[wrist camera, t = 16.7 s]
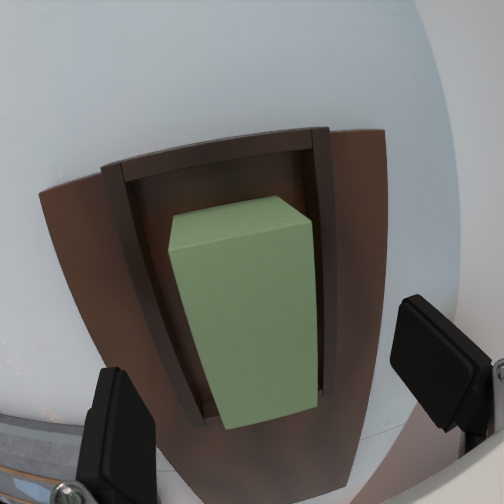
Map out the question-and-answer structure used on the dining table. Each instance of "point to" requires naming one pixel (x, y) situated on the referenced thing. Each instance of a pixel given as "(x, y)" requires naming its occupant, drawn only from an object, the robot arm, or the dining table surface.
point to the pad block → (250, 305)
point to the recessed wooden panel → (173, 314)
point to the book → (36, 458)
